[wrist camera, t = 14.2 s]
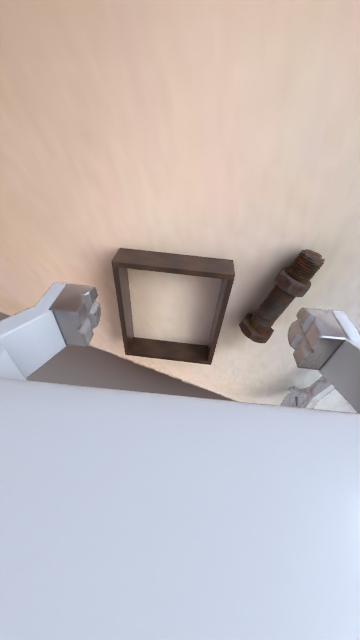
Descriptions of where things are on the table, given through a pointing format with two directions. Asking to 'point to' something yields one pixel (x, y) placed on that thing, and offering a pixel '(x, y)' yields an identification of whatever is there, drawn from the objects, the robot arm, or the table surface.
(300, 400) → the wrench
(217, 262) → the rectangular frame
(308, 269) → the bolt
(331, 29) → the table surface
